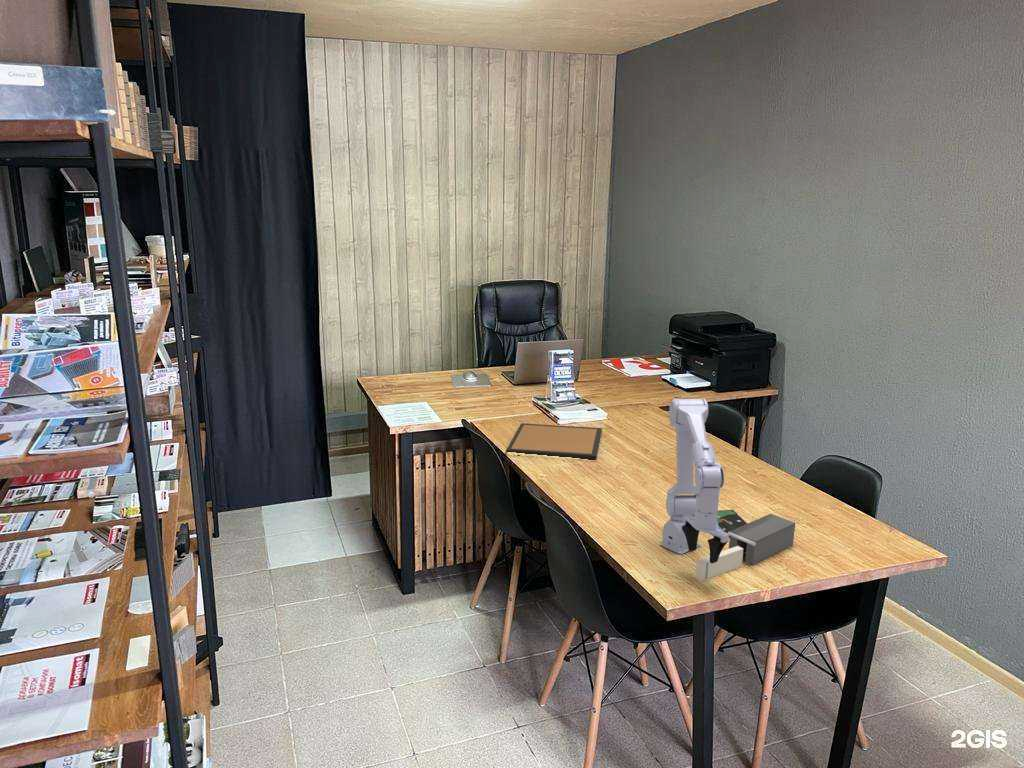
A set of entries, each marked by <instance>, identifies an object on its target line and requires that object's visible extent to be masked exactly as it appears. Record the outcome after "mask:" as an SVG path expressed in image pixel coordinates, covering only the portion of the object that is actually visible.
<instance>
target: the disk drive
mask: <svg viewBox="0 0 1024 768" xmlns="http://www.w3.org/2000/svg"><path fill="white" fill-rule="evenodd" d="M717 522H718V526H719V527H720V528H721V529H722V530H723V531H724V532H726V533H727V534H728V532H730V531H732V530H734V529H737V528H739V527H741V526H743V525H746V524H748V522H746V520H745V519H743V518H742V517H741V516H740V514H738V513H737V512H736V511H735V510H734V509H722V510H719V509H718V514H717ZM729 538H730V536H729Z"/></svg>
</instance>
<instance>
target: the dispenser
mask: <svg viewBox="0 0 1024 768" xmlns="http://www.w3.org/2000/svg"><path fill="white" fill-rule="evenodd" d="M795 529H796V522H794V521H791V520H789V519H787V518H784V517H781V516H778V515H775V514H773V513H769V514H767V515H764V516H761V517H760V518H758V519H755V520H753V521H751V522H749V523H748V522H747V524H746V525H743V526H741V527H739V528H737V529H734V530H732V531H730V532H728V534H729V536H730V537H729V540H728V549H730V548H733V547H736V546H739V547H741V548H743V555H744V554H745V563H747V564H749V565H751V566H754V565H757V564H758V563H760V562H762V561H764V560H767V559H768V558H770V557H773V556H774V555H776V554H779V553H780V552H782V551H784V550H787V549H789V548H791V547H792V546H794V539H795Z"/></svg>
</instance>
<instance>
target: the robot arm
mask: <svg viewBox="0 0 1024 768" xmlns="http://www.w3.org/2000/svg"><path fill="white" fill-rule="evenodd" d="M668 409H669V424H670V425H669V426H670V427H673V428H675V434H676V438H675V440H676V444H675V445H676V449H675V450H676V482H675V484H674V485H673V486H671V487H670V488H669V489H668V490H667V492H666V501H665V506H666V507H665V509H666V513H667V515H668V517H670V518H669V519H668V520H667V521H666V522H665V523H664V524H663V527H662V542H660V543H659V545H660V546H662V547H664V548H666V549H668V550H670V551H672V552H674V553H676V554H679V555H683V554H685V553H687V552H690V553H691V552H694V551H696V550H697V548H699V547H701V546H702V543H699V541H698V539H699V534H700V532H702V533H705V534H708V535H710V536H712V538H710V539H707V543H708V547H709V556H710V563H712V564H713V563H715V562H717V561H718V558H719V555H720V553H721V552H722V551H723V549H724V548H725V546H726V545H727V543H729V540H730V537H729V534H727V533H726V532H724V531H723V530H722V529H721V528H720V527H719V526H718V522H717V514H718V510H719V502H720V488H723V487H724V483H725V471H724V469H723V466H722V465H721V464H720V461H719V462H718V461H717V458H716V457H717V456H716V454H715V450H714V446H713V444H712V443H710V442H708V438H707V433H706V426H705V423H706V422H707V419H708V417H709V403H708V401H707V400H706V399H705V398H673V399H672V400H671V401H670V404H669V408H668ZM694 467H695V469H694ZM694 470H695V471H694Z"/></svg>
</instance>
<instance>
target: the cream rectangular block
mask: <svg viewBox="0 0 1024 768" xmlns="http://www.w3.org/2000/svg"><path fill="white" fill-rule="evenodd" d="M743 556H744V554H743V548H741V547H739V546H736V547H733V548H730V549H729V548H728V549H725V550H722V551H721V553H720V555H719V558H718V561H717V562H715V563H713V564H712V563H710V555H708V556H705V557H702V558H699V559H697V560H696V564H695V576H694V577H695V579H696V580H698V581H699V582H703V581H705V580H708V579H711V578H713V577H717V576H719V575H721V574H722V575H723V574H725V573H727V572H730V571H732V570H736V569H738V568H740V567H742V566H743Z"/></svg>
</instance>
